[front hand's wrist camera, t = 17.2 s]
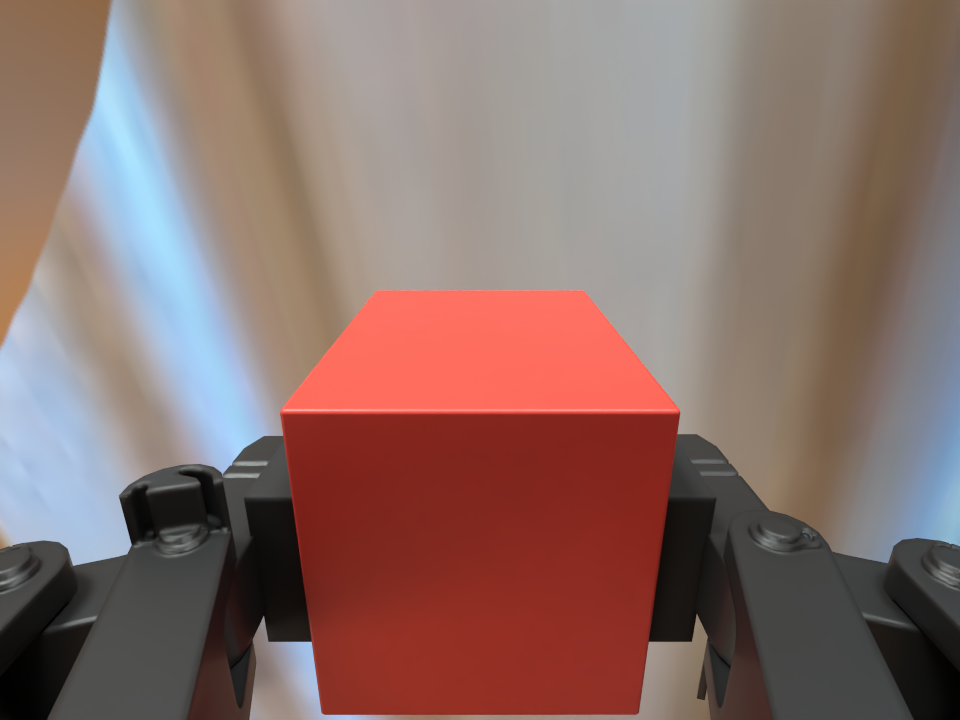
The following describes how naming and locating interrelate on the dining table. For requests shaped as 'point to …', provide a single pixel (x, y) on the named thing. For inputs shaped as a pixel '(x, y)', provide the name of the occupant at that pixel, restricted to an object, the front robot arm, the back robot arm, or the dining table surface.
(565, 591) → the brick
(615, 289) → the dining table surface
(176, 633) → the front robot arm
